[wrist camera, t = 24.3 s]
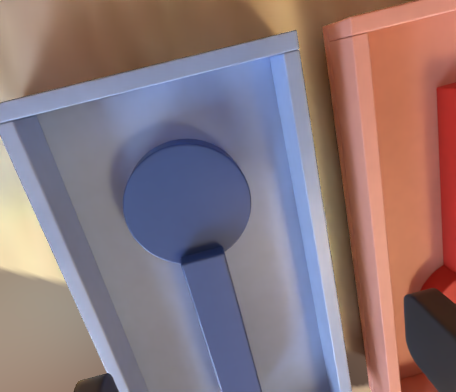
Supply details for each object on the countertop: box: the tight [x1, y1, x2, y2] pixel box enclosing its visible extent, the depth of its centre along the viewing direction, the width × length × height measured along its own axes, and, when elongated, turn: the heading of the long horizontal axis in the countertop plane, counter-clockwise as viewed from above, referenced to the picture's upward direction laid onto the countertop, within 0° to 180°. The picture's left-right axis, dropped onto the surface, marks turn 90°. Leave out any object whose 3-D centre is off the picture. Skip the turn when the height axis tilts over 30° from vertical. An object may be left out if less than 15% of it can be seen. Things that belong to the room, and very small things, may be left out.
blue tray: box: [0, 30, 352, 392], centre depth 16 cm, size 19×10×2 cm, turn 13°
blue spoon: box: [123, 139, 262, 392], centre depth 16 cm, size 14×5×2 cm, turn 13°
